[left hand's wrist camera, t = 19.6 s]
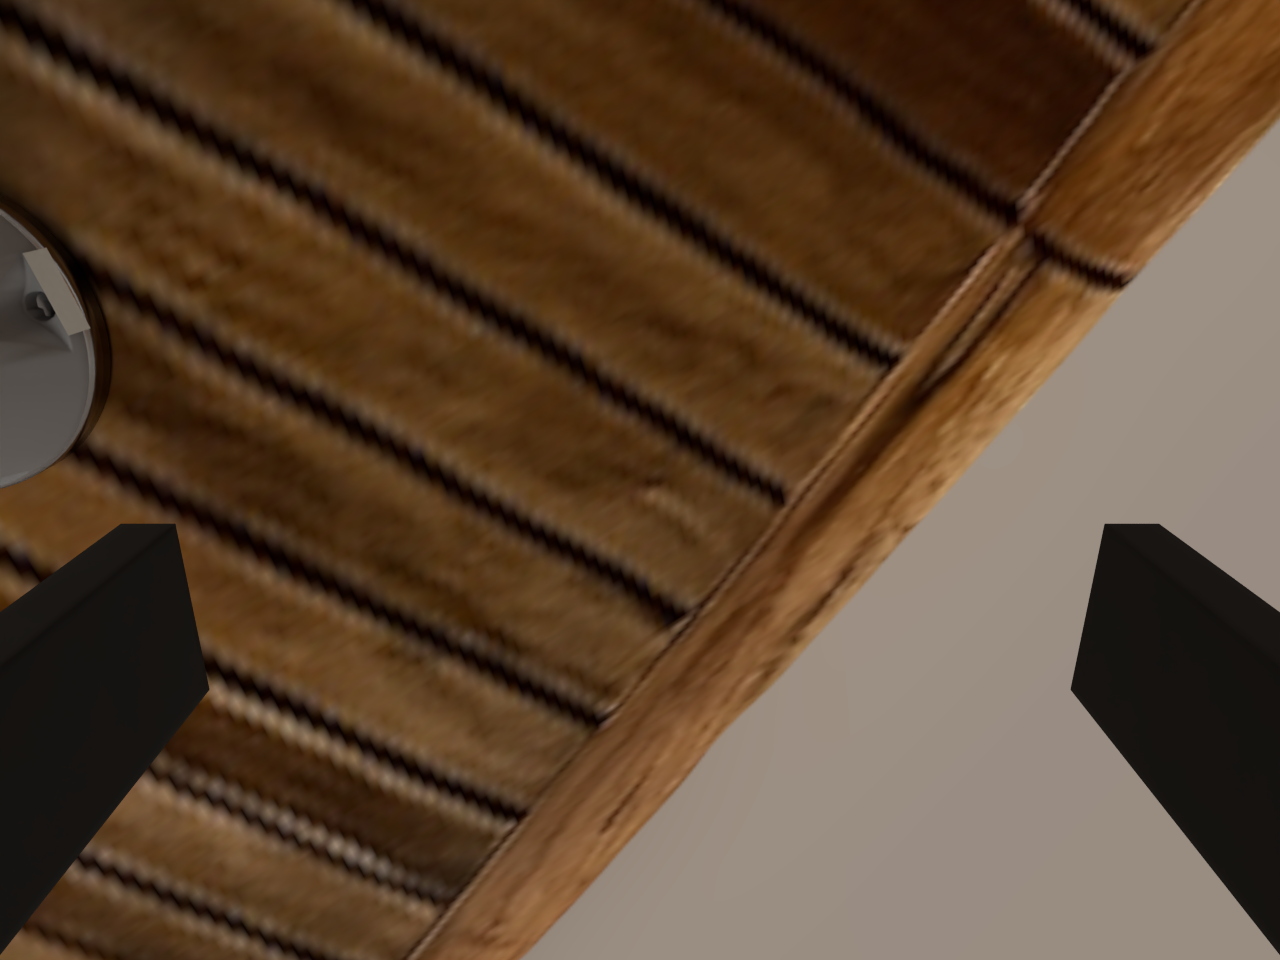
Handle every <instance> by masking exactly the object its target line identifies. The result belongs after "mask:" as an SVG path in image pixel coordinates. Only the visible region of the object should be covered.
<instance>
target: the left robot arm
mask: <svg viewBox="0 0 1280 960" xmlns="http://www.w3.org/2000/svg"><path fill="white" fill-rule="evenodd" d="M110 370H111V363H110V348H109V341H108V335H107V331H106V327H105V323H104V320H103V317H102V314H101V311H100V308H99V305H98V303H97V301H96V298H95V296H94V294H93V291H92V290H91V288H90V286H89V284H88V282H87V280H86V278H85V277H84V275H83V273H82V272H81V270H80V269H79V267H78V266H77V264H76V263H75V261H74V260H73V259H72V257H71V256H70V255H69V253H68V252H67V251H66V249H65V248H64V247H63V246H62V245H61V244H60V243H59V241H58V240H57V239H56V238H55V237H54V236H53V235H52V234H51V233H50V232H49V231H48V230H47V229H46V228H45V227H44V226H43V225H42V224H41V223H40V222H39V221H38V220H36V219H35V218H34V217H33V216H31V215H30V214H29V213H28V212H27V211H25V210H24V209H23V208H21V207H20V206H18V205H17V204H15V203H14V202H12V201H11V200H10V199H8V198H6V197H5V196H3V195H1V194H0V488H4V487H8V486H11V485H14V484H17V483H20V482H22V481H24V480H27V479H29V478H31V477H33V476H35V475H37V474H39V473H40V472H42V471H44V470H46V469H48V468H49V467H51V466H53V465H55V464H56V463H58V462H60V461H61V460H63V459H65V458H66V457H67V456H68V455H70V454H71V453H72V452H74V451H75V450H76V449H77V448H78V447H79V446H80V445H81V444H82V443H83V442H84V440H85V439H86V438H87V437H88V435H89V434H90V433H91V431H92V430H93V428H94V426H95V425H96V423H97V421H98V419H99V417H100V415H101V412H102V410H103V408H104V404H105V401H106V398H107V394H108V388H109V383H110ZM208 691H209V685H208V680H207V676H206V671H205V666H204V661H203V656H202V651H201V646H200V642H199V637H198V632H197V627H196V622H195V617H194V612H193V607H192V603H191V598H190V593H189V588H188V583H187V578H186V573H185V569H184V564H183V559H182V554H181V549H180V544H179V539H178V534H177V530H176V525H175V524H120V525H119V526H117V527H116V528H115V529H113V530H112V531H111V532H109V533H108V534H107V535H105V536H104V537H102V538H101V539H100V540H98V541H97V542H96V543H94V544H93V545H92V546H90V547H89V548H87V549H86V550H85V551H83V552H82V553H81V554H79V555H78V556H76V557H75V558H74V559H72V560H71V561H70V562H68V563H67V564H66V565H64V566H63V567H61V568H60V569H59V570H57V571H56V572H55V573H53V574H52V575H51V576H49V577H48V578H46V579H45V580H44V581H42V582H41V583H40V584H38V585H37V586H36V587H34V588H33V589H31V590H30V591H29V592H27V593H26V594H25V595H23V596H22V597H20V598H19V599H18V600H16V601H15V602H14V603H12V604H11V605H10V606H8V607H7V608H5V609H4V610H3V611H1V612H0V954H1V953H2V952H3V951H4V949H5V948H6V947H7V946H8V944H9V943H10V942H11V940H12V939H13V938H14V937H15V935H16V934H17V933H18V932H19V930H20V929H21V928H22V927H23V925H24V924H25V923H26V921H27V920H28V919H29V918H30V916H31V915H32V914H33V913H34V911H35V910H36V909H37V907H38V906H39V905H40V904H41V902H42V901H43V900H44V899H45V897H46V896H47V895H48V894H49V892H50V891H51V890H52V888H53V887H54V886H55V885H56V883H57V882H58V881H59V880H60V878H61V877H62V876H63V875H64V873H65V872H66V871H67V869H68V868H69V867H70V866H71V864H72V863H73V862H74V861H75V859H76V858H77V857H78V856H79V854H80V853H81V852H82V850H83V849H84V848H85V847H86V845H87V844H88V843H89V842H90V840H91V839H92V838H93V837H94V835H95V834H96V833H97V831H98V830H99V829H100V828H101V826H102V825H103V824H104V823H105V821H106V820H107V819H108V818H109V816H110V815H111V814H112V812H113V811H114V810H115V809H116V807H117V806H118V805H119V804H120V802H121V801H122V800H123V798H124V797H125V796H126V795H127V793H128V792H129V791H130V790H131V788H132V787H133V786H134V785H135V783H136V782H137V781H138V779H139V778H140V777H141V776H142V774H143V773H144V772H145V771H146V769H147V768H148V767H149V766H150V764H151V763H152V762H153V760H154V759H155V758H156V757H157V755H158V754H159V753H160V752H161V750H162V749H163V748H164V747H165V745H166V744H167V743H168V741H169V740H170V739H171V738H172V736H173V735H174V734H175V733H176V731H177V730H178V729H179V728H180V726H181V725H182V724H183V722H184V721H185V720H186V719H187V717H188V716H189V715H190V714H191V712H192V711H193V710H194V708H195V707H196V706H197V705H198V703H199V702H200V701H201V700H202V698H203V697H204V696H205V695H206V693H207V692H208ZM1071 691H1072V692H1073V693H1074V695H1075V696H1076V697H1077V698H1078V699H1079V701H1080V702H1081V703H1082V705H1083V706H1084V707H1085V708H1086V710H1087V711H1088V712H1089V714H1090V715H1091V716H1092V717H1093V719H1094V720H1095V721H1096V722H1097V724H1098V725H1099V726H1100V727H1101V729H1102V730H1103V731H1104V733H1105V734H1106V735H1107V736H1108V738H1109V739H1110V740H1111V741H1112V743H1113V744H1114V745H1115V746H1116V748H1117V749H1118V750H1119V751H1120V753H1121V754H1122V755H1123V757H1124V758H1125V759H1126V760H1127V762H1128V763H1129V764H1130V766H1131V767H1132V768H1133V769H1134V771H1135V772H1136V773H1137V774H1138V776H1139V777H1140V778H1141V779H1142V781H1143V782H1144V783H1145V784H1146V786H1147V787H1148V788H1149V790H1150V791H1151V792H1152V793H1153V795H1154V796H1155V797H1156V798H1157V800H1158V801H1159V802H1160V804H1161V805H1162V806H1163V807H1164V809H1165V810H1166V811H1167V812H1168V814H1169V815H1170V816H1171V818H1172V819H1173V820H1174V821H1175V823H1176V824H1177V825H1178V826H1179V828H1180V829H1181V830H1182V831H1183V833H1184V834H1185V835H1186V837H1187V838H1188V839H1189V840H1190V842H1191V843H1192V844H1193V845H1194V847H1195V848H1196V849H1197V850H1198V852H1199V853H1200V854H1201V856H1202V857H1203V858H1204V859H1205V861H1206V862H1207V863H1208V864H1209V866H1210V867H1211V868H1212V869H1213V871H1214V872H1215V873H1216V875H1217V876H1218V877H1219V878H1220V880H1221V881H1222V882H1223V883H1224V885H1225V886H1226V887H1227V888H1228V890H1229V891H1230V892H1231V894H1232V895H1233V896H1234V897H1235V899H1236V900H1237V901H1238V902H1239V904H1240V905H1241V906H1242V907H1243V909H1244V910H1245V911H1246V913H1247V914H1248V915H1249V916H1250V918H1251V919H1252V920H1253V921H1254V923H1255V924H1256V925H1257V926H1258V928H1259V929H1260V930H1261V932H1262V933H1263V934H1264V935H1265V937H1266V938H1267V939H1268V940H1269V942H1270V943H1271V944H1272V946H1273V947H1274V948H1275V949H1276V951H1277V952H1278V953H1279V954H1280V612H1279V611H1277V610H1276V609H1275V608H1273V607H1272V606H1270V605H1269V604H1268V603H1266V602H1265V601H1264V600H1262V599H1261V598H1260V597H1258V596H1257V595H1255V594H1254V593H1253V592H1251V591H1250V590H1249V589H1247V588H1246V587H1244V586H1243V585H1242V584H1240V583H1239V582H1238V581H1236V580H1235V579H1234V578H1232V577H1231V576H1229V575H1228V574H1227V573H1225V572H1224V571H1223V570H1221V569H1220V568H1219V567H1217V566H1216V565H1214V564H1213V563H1212V562H1210V561H1209V560H1208V559H1206V558H1205V557H1204V556H1202V555H1201V554H1199V553H1198V552H1197V551H1195V550H1194V549H1193V548H1191V547H1190V546H1188V545H1187V544H1186V543H1184V542H1183V541H1182V540H1180V539H1179V538H1178V537H1176V536H1175V535H1173V534H1172V533H1171V532H1169V531H1168V530H1167V529H1165V528H1164V527H1162V526H1161V525H1160V524H1105V525H1104V530H1103V534H1102V539H1101V544H1100V549H1099V554H1098V559H1097V564H1096V569H1095V573H1094V578H1093V583H1092V588H1091V593H1090V598H1089V603H1088V608H1087V612H1086V617H1085V622H1084V627H1083V632H1082V637H1081V642H1080V646H1079V651H1078V656H1077V661H1076V666H1075V671H1074V676H1073V680H1072V685H1071Z"/></svg>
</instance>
